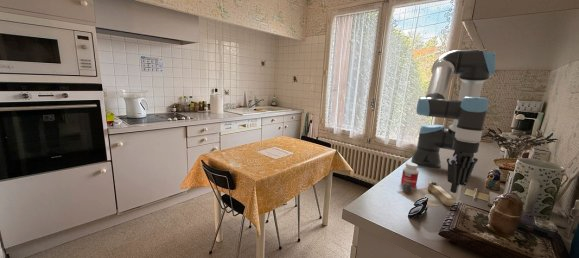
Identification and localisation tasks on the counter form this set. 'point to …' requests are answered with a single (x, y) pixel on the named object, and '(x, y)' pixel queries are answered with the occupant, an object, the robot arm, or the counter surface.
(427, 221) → the counter surface
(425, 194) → the board
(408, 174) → the pill bottle
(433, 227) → the counter surface
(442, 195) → the leg bar
